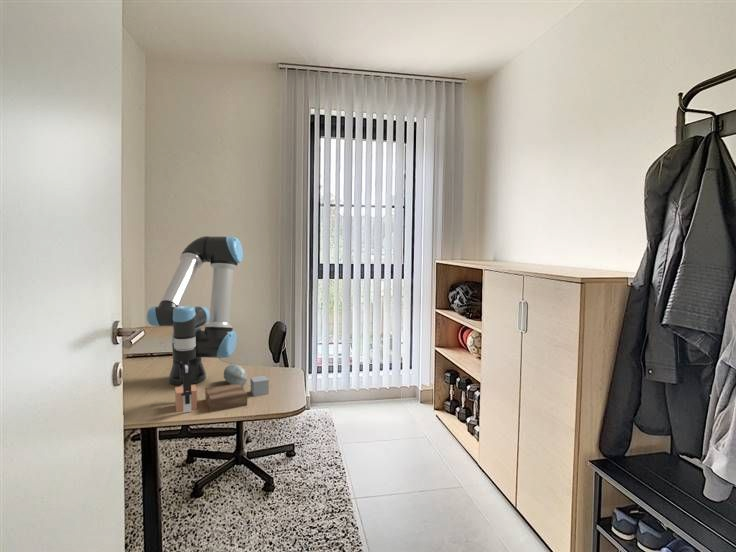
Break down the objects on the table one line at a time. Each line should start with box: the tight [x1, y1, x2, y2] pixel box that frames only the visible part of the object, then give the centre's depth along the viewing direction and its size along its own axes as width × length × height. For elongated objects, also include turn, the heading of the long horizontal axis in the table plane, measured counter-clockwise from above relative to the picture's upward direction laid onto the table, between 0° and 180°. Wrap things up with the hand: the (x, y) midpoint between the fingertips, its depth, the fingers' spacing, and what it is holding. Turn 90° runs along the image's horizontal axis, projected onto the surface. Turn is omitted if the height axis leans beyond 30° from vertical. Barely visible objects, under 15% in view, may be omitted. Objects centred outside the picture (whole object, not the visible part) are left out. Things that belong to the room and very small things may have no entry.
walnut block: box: [204, 383, 248, 413], centre depth 164 cm, size 13×13×5 cm
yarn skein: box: [223, 363, 248, 387], centre depth 184 cm, size 14×10×10 cm
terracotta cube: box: [174, 384, 198, 413], centre depth 160 cm, size 7×7×7 cm
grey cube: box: [250, 375, 270, 397], centre depth 175 cm, size 6×6×6 cm
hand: (186, 406), depth 160 cm, fingers open, 10 cm apart
